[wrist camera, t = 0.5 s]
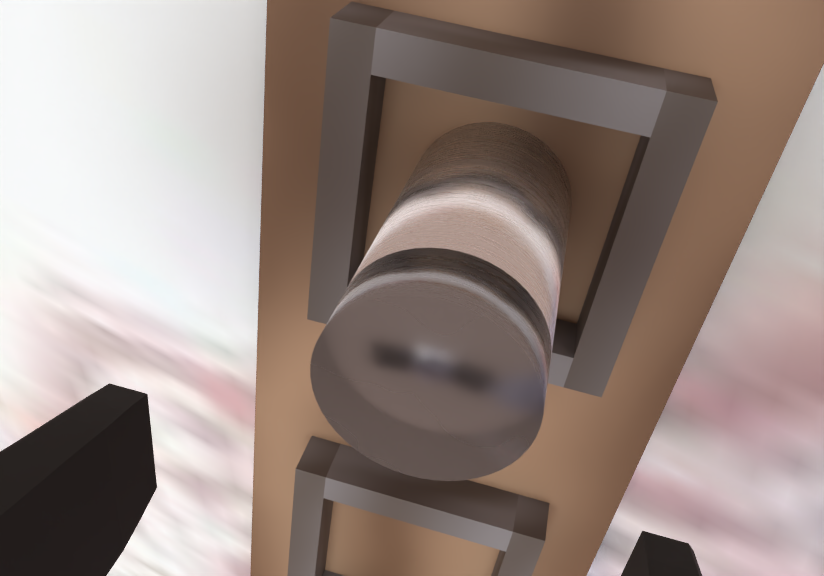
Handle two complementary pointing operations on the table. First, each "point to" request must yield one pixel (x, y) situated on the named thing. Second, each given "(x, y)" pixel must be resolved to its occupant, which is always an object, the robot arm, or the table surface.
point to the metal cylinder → (453, 311)
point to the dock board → (584, 257)
